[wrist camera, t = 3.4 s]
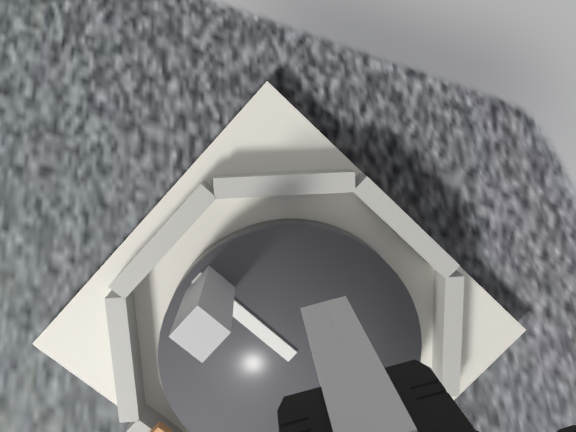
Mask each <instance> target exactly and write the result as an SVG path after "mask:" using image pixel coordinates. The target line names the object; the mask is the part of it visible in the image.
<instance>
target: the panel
mask: <svg viewBox="0 0 576 432" xmlns="http://www.w3.org/2000/svg"><path fill="white" fill-rule="evenodd" d="M277 219H307V220H314V221H319V222H323V223H327V224H330V225H334V226H336V227H338V228H341V229H343V230H345V231H348V232H350V233H351V234H353V235H355V236H356V237H358V238H360V239H361V240H363V241H364V242H365V243H367V244H368V245H369V246H370V247H372V248H373V249H374V250H375V251H376V252H377V253H378V254H379V255H380V256H381V257H382V258H383V259H384V260H385V261H386V262H387V264H388V265H389V266H390V267H391V268H392V269H393V270H394V271H395V272H396V273H397V275H398V276H399V277H400V279H401V280H402V282H403V283H404V285H405V286H406V288H407V290H408V292H409V294H410V296H411V298H412V300H413V302H414V305H415V308H416V311H417V314H418V317H419V323H420V328H421V339H422V351H421V363H423V364H425V365H426V366H428V367H430V368H431V369H432V371H433V372H434V374H435V375H436V376H437V378H438V379H439V381H440V382H441V383H442V385H443V386H444V387H445V389H446V391H447V393H449V394H450V396H451V397H452V399H453V400H455V399H456V398H457V397H458V396H460V394H461V393H462V392H463V391H464V390H465V389H466V388H467V387H468V386H469V385H470V384H471V383H472V382H473V381H474V380H475V379H476V378H477V377H478V376H479V375H480V374H481V373H482V372H484V371H485V370H486V369H487V368H488V367H489V366H490V365H491V364H492V363H493V362H494V361H495V360H496V359H497V358H498V357H499V356H500V355H501V354H502V353H503V352H504V351H505V350H506V349H507V348H508V347H509V346H510V345H511V344H512V343H513V342H514V341H515V340H516V339H517V338H518V337H520V336H521V335H522V334H523V333H524V332H525V331H526V329H525V328H524V327H523V326H522V325H520V324H519V323H518V322H517V321H516V320H515V319H514V318H513V317H512V316H511V315H510V314H509V313H508V312H507V311H506V310H505V309H504V308H503V307H502V306H501V305H500V304H499V303H498V302H497V301H496V300H494V299H493V298H492V297H491V296H490V295H489V294H488V293H487V292H486V291H485V290H484V289H483V288H482V287H481V286H480V285H479V284H478V283H477V282H476V281H475V280H474V279H473V278H472V277H471V276H469V275H468V274H467V273H466V272H465V271H464V270H463V269H462V268H461V267H460V265H459V264H458V263H457V262H456V261H455V260H454V259H453V258H452V257H451V256H450V255H449V254H448V253H447V252H446V251H445V250H443V249H442V248H441V247H440V246H439V245H438V244H437V243H436V242H435V241H434V240H433V239H432V238H431V237H430V236H429V235H428V234H427V233H426V232H425V231H424V230H423V229H422V228H421V227H420V226H419V225H417V224H416V223H415V222H414V221H413V220H412V219H411V218H410V217H409V216H408V215H407V214H406V213H405V212H404V211H403V210H402V209H401V208H400V207H399V206H398V205H397V204H396V203H395V202H394V201H393V200H391V199H390V198H389V197H388V196H387V195H386V194H385V193H384V192H383V191H382V190H381V189H380V188H379V187H378V186H377V185H376V184H375V183H374V182H373V181H372V180H371V179H370V178H369V177H368V176H366V175H364V174H363V173H362V172H361V171H360V170H359V169H358V168H357V167H356V166H355V165H354V164H353V163H352V162H351V161H350V160H349V159H348V158H347V157H346V156H345V155H344V154H343V153H342V152H340V151H339V150H338V149H337V148H336V147H335V146H334V145H333V144H332V143H331V142H330V141H329V140H328V139H327V138H326V137H325V136H324V135H323V134H322V133H321V132H320V131H319V130H318V129H317V128H315V127H314V126H313V125H312V124H311V123H310V122H309V121H308V120H307V119H306V118H305V117H304V116H303V115H302V114H301V113H300V112H299V111H298V110H297V109H296V108H295V107H294V106H293V105H292V104H291V103H289V102H288V101H287V100H286V99H285V98H284V97H283V96H282V95H281V94H280V93H279V92H278V91H277V90H276V89H275V88H274V87H273V86H272V85H271V84H270V83H269V82H268V81H267V82H266V83H265V84H264V85H263V86H262V87H261V88H260V90H259V91H258V92H257V93H256V94H255V95H254V96H253V97H252V99H251V100H250V101H249V102H248V103H247V104H246V105H245V106H244V108H243V109H242V110H241V111H240V112H239V113H238V114H237V115H236V116H235V118H234V119H233V120H232V121H231V122H230V123H229V124H228V125H227V127H226V128H225V129H224V130H223V131H222V132H221V133H220V134H219V136H218V137H217V138H216V139H215V140H214V141H213V142H212V143H211V144H210V146H209V147H208V148H207V149H206V150H205V151H204V152H203V153H202V155H201V156H200V157H199V158H198V159H197V160H196V161H195V162H194V164H193V165H192V166H191V167H190V168H189V169H188V170H187V171H186V172H185V174H184V175H183V176H182V177H181V178H180V179H179V180H178V181H177V183H176V184H175V185H174V186H173V187H172V188H171V189H170V190H169V192H168V193H167V194H166V195H165V196H164V197H163V198H162V199H161V200H160V202H159V203H158V204H157V205H156V206H155V207H154V208H153V209H152V211H151V212H150V213H149V214H148V215H147V216H146V217H145V218H144V220H143V221H142V222H141V223H140V224H139V225H138V226H137V227H136V228H135V230H134V231H133V232H132V233H131V234H130V235H129V236H128V237H127V239H126V240H125V241H124V242H123V243H122V244H121V245H120V246H119V248H118V249H117V250H116V251H115V252H114V253H113V254H112V255H111V256H110V258H109V259H108V260H107V261H106V262H105V263H104V264H103V265H102V267H101V268H100V269H99V270H98V271H97V272H96V273H95V274H94V276H93V277H92V278H91V279H90V280H89V281H88V282H87V283H86V284H85V286H84V287H83V288H82V289H81V290H80V291H79V292H78V293H77V295H76V296H75V297H74V298H73V299H72V300H71V301H70V302H69V303H68V305H67V306H66V307H65V308H64V309H63V310H62V311H61V312H60V314H59V315H58V316H57V317H56V318H55V319H54V320H53V321H52V323H51V324H50V325H49V326H48V327H47V328H46V329H45V330H44V331H43V333H42V334H41V335H40V336H39V337H38V338H37V339H36V340H35V342H34V343H33V345H34V346H36V347H37V348H38V349H40V350H41V351H42V352H44V353H45V354H47V355H48V356H49V357H51V358H52V359H54V360H55V361H56V362H58V363H59V364H60V365H62V366H63V367H65V368H66V369H67V370H69V371H70V372H71V373H73V374H74V375H76V376H77V377H78V378H80V379H81V380H82V381H84V382H85V383H87V384H88V385H89V386H91V387H92V388H94V389H95V390H96V391H98V392H99V393H100V394H102V395H103V396H105V397H106V398H107V399H109V400H110V401H111V402H113V403H114V404H116V405H117V406H118V414H119V422H120V423H123V422H129V425H128V427H127V430H126V432H189V431H188V430H187V429H186V428H185V427H184V426H183V425H182V423H181V422H180V420H179V419H178V418H177V416H176V415H175V413H174V412H173V410H172V408H171V406H170V404H169V402H168V400H167V398H166V395H165V392H164V389H163V386H162V383H161V379H160V373H159V367H158V343H159V335H160V330H161V326H162V323H163V319H164V316H165V313H166V311H167V309H168V306H169V304H170V301H171V299H172V297H173V295H174V292H175V290H176V288H177V286H178V284H179V282H180V281H181V279H182V277H183V276H184V274H185V273H186V271H187V270H188V269H189V268H190V266H191V265H192V264H193V263H194V261H195V260H196V259H197V258H198V257H199V256H200V255H201V254H202V253H203V252H204V251H206V250H207V249H208V248H209V247H210V246H212V245H213V244H215V243H216V242H217V241H219V240H220V239H222V238H223V237H225V236H227V235H229V234H231V233H233V232H234V231H236V230H239V229H241V228H244V227H247V226H249V225H252V224H256V223H260V222H264V221H268V220H277Z"/></svg>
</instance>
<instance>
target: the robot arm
mask: <svg viewBox="0 0 576 432" xmlns="http://www.w3.org/2000/svg"><path fill="white" fill-rule="evenodd" d="M300 309H301V313H302V317H303V321H304V325H305V328H306V332H307V336H308V340H309V344H310V348H311V351H312V355H313V359H314V363H315V367H316V370H317V374H318V378H319V382H320V386H321V387H317V388H314V389H310V390H306V391H303V392H299V393H295V394H292V395H288V396H284V397H283V399H282V401H281V404H280V406H279V408H278V410H277V415H278V426H279V432H479V431H476V430H475V429H474V428H473V426H472V425H471V424H470V422H469V421H468V419H467V418H466V417H465V415H464V414H463V413H462V411H461V410H460V408H459V407H458V406H457V404H456V403H455V401H454V400H453V399H452V397H451V396H450V394H449V393H447V391H446V389H445V387H444V386H443V385H442V383H441V382H440V381H439V379H438V378H437V376H436V375H435V374H434V372H433V371H432V369H431V368H430V367H428V366H426V365H425V364H423V363H421V362H419V361H417V360H415V359H414V360H411V361H407V362H403V363H400V364H396V365H392V366H389V367H385V368H384V367H383V365H382V363H381V361H380V359H379V357H378V355H377V353H376V352H375V350H374V348H373V346H372V344H371V342H370V340H369V339H368V337H367V335H366V333H365V331H364V329H363V327H362V325H361V324H360V322H359V320H358V318H357V316H356V314H355V312H354V311H353V309H352V307H351V305H350V303H349V301H348V299H347V297H346V296H343V297H339V298H336V299H332V300H328V301H324V302H321V303H317V304H313V305H310V306H306V307H302V308H300ZM557 432H576V425H572V426H569V427H566V428H563V429H560V430H558V431H557Z"/></svg>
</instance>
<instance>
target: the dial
mask: <svg viewBox="0 0 576 432" xmlns="http://www.w3.org/2000/svg"><path fill="white" fill-rule="evenodd" d="M343 296H346V297H347V299H348V301H349V303H350V305H351V307H352V309H353V311H354V312H355V314H356V316H357V318H358V320H359V322H360V324H361V325H362V327H363V329H364V331H365V333H366V335H367V337H368V339H369V340H370V342H371V344H372V346H373V348H374V350H375V352H376V353H377V355H378V357H379V359H380V361H381V363H382V365H383V367H384V368H385V367H389V366H392V365H396V364H400V363H403V362H407V361H411V360H414V359H415V360H417V361H419V362H421V351H422V339H421V328H420V323H419V317H418V314H417V311H416V308H415V305H414V302H413V300H412V298H411V296H410V294H409V292H408V290H407V288H406V286H405V285H404V283H403V282H402V280H401V279H400V277H399V276H398V275H397V273H396V272H395V271H394V270H393V269H392V268H391V267H390V266H389V265H388V264H387V262H386V261H385V260H384V259H383V258H382V257H381V256H380V255H379V254H378V253H377V252H376V251H375V250H374V249H373V248H372V247H370V246H369V245H368V244H367V243H365V242H364V241H363V240H361V239H360V238H358V237H356V236H355V235H353V234H351V233H350V232H348V231H345V230H343V229H341V228H338V227H336V226H334V225H330V224H327V223H323V222H319V221H314V220H307V219H277V220H268V221H264V222H260V223H256V224H252V225H249V226H247V227H244V228H241V229H239V230H236V231H234V232H233V233H231V234H229V235H227V236H225V237H223V238H222V239H220V240H219V241H217V242H216V243H215V244H213V245H212V246H210V247H209V248H208V249H207V250H206V251H204V252H203V253H202V254H201V255H200V256H199V257H198V258H197V259H196V260H195V261H194V263H193V264H192V265H191V266H190V268H189V269H188V270H187V271H186V273H185V274H184V276H183V277H182V279H181V281H180V282H179V284H178V286H177V288H176V290H175V292H174V295H173V297H172V299H171V301H170V304H169V306H168V309H167V311H166V313H165V316H164V319H163V323H162V326H161V330H160V335H159V343H158V367H159V373H160V379H161V383H162V386H163V389H164V392H165V395H166V398H167V400H168V402H169V404H170V406H171V408H172V410H173V412H174V413H175V415H176V416H177V418H178V419H179V420H180V422H181V423H182V425H183V426H184V427H185V428H186V429H187V430H188V431H189V432H279V426H278V415H277V410H278V408H279V406H280V404H281V401H282V399H283V397H284V396H288V395H292V394H295V393H299V392H303V391H306V390H310V389H314V388H317V387H321V386H320V382H319V378H318V374H317V370H316V367H315V363H314V359H313V355H312V351H311V348H310V344H309V340H308V336H307V332H306V328H305V325H304V321H303V317H302V313H301V309H300V308H302V307H306V306H310V305H313V304H317V303H321V302H324V301H328V300H332V299H336V298H339V297H343Z"/></svg>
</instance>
